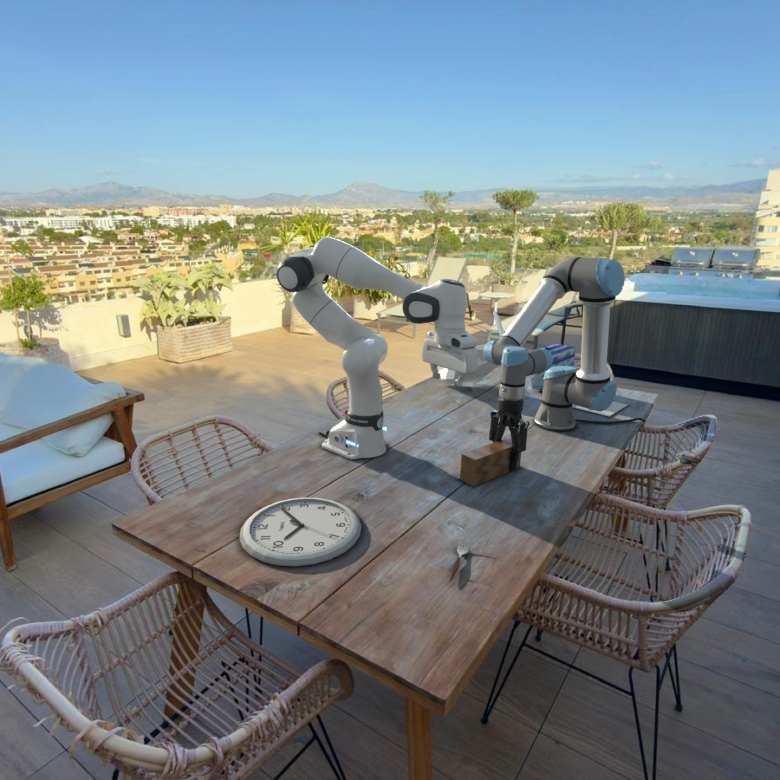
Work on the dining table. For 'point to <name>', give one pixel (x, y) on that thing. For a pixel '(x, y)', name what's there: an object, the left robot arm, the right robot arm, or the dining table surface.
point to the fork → (461, 551)
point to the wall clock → (300, 532)
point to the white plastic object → (482, 366)
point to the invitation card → (609, 411)
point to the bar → (486, 462)
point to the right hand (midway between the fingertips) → (504, 466)
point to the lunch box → (555, 362)
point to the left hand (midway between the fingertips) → (446, 382)
